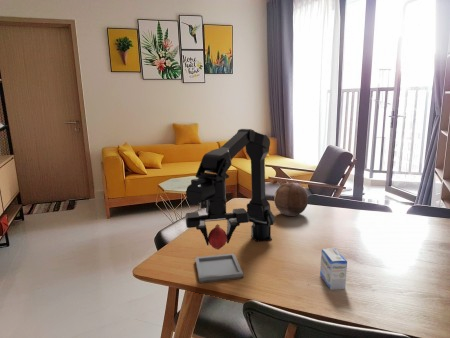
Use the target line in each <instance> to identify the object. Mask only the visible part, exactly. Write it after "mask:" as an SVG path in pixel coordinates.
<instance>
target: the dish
mask: <svg viewBox="0 0 450 338" xmlns="http://www.w3.org/2000/svg"><path fill="white" fill-rule="evenodd" d="M195 265H196V266H195V267H196V270H197V271H196V272H197V275H198V282H199V283H200V284H202V283H210V282H218V281H229V280H235V279H244V272H243V270H242V268H241V265H240V263H239V261H238V259H237V256H236V255H235V253H225V254H217V255H207V256H196V257H195Z"/></svg>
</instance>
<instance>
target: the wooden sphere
mask: <svg viewBox="0 0 450 338" xmlns="http://www.w3.org/2000/svg"><path fill="white" fill-rule="evenodd" d="M273 197H274V198H273V200H274V201H273V202H274V205H275V207H276V209H277V211H279V212H280V213H281V214H283V215H285V216H287V217H297V216H298V215H300V214H302V213H303V212H304V211H305V209H306V208H307V207H308V204H309V196H308V193H307V191H306V190H305V188H304V187H303V185H300V184H298V183H296V182H285V183H283V184H281V185H280V186H279V187H278V188H277V189H276V191H275V193H274V196H273Z"/></svg>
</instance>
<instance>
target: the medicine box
mask: <svg viewBox="0 0 450 338" xmlns="http://www.w3.org/2000/svg"><path fill="white" fill-rule="evenodd" d="M320 254H321V256H320V270H319V275H320V277H321V278H322V280H323V282H325V284H326V286H327V287H328V288H329V289H330V291H333V290H345V289H346V287H347V286H346V284H347V272H348V271H347V269H348V261H347V259H346V258H345V257H344V256H343V255H342V254H341V253H340V252H339V251H338V250H337V248H329V247H327V248H322V249H321V253H320Z"/></svg>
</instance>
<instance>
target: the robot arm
mask: <svg viewBox="0 0 450 338" xmlns="http://www.w3.org/2000/svg"><path fill="white" fill-rule="evenodd" d="M270 146H271V140H270V138H269V137H268V135H267V134H263V133H260V132H257V131H255V130H254V129H252V128H240V129H238V130H237V132H236V133H235V134H234V135H232V136H231V137H230V139H228V140H227V141H226V142H225V143H224V144H223V145H222V146H220V147H219V148H215V149H212V150H210V151H208V152H206V153H205V154H204V155H203V156H202V159H201V161H200V164H199V166H198V169H197V171H196V174H195V178H194V179H191V180H190V184H189V185H188V186H187V188H186V190H185V195H186V199H187V201H189V204H190V203H191V204H192V205H200V206H199V208H200V209H205V213H206V214H203V215H200V214H199V211H195V212H193V211H192V212H186V213H185V224H186V228H187V229H188V228H189V229H191V228H195V229H196V230H199V231H200V232H201V234H202V236H203V238H204V241H205V243H206V246H209V245H210V244H209V241H208V235H209V234H208V230H207V225H206V222H215V221H216V222H217V221H226V223H227V224H226V235H227V241H226V244H229V243H230V241H231V238H232V236H233V234H234V232H235V230H236V229H237V227H239V226H241V225H240V224H246V223H252V225H251V226H250V227H251V229H250V231H251V232H250V235H251V238H253V240H254V241H255V242H261V241H262V242H264V241H272V240H273V238H272V236H271V232H272V231H271V230H272V229H271V228H272V227H271V226H273V225H274V223H275V221H276V220H275V219H276V217H275V215H274V213H273V212H272V211H271V204H270V202H269V201H268V199H267V198H266V164H265V162H266V158H267V155H268V154H269V152H270ZM244 148H245V152H246V155H247V156H248V158H249V159H250V174H251V175H250V176H251V199H250V200H249V202H248V203H246V209H245V208H244V207H243V208H232V212H227V194H226V193H227V191H226V190H227V188H226V180H227V179H230V175H229V174H228V173H227V171H228V170H229V169H230V168H231V166H232V160H233V159H234V158H235V157H236V155H238V154H239V153H240V152H241V151H242V150H243V149H244Z"/></svg>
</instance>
